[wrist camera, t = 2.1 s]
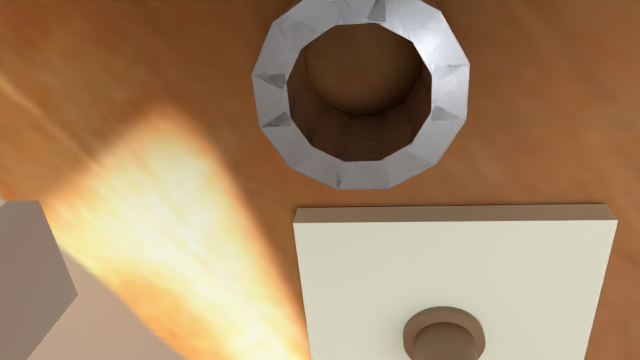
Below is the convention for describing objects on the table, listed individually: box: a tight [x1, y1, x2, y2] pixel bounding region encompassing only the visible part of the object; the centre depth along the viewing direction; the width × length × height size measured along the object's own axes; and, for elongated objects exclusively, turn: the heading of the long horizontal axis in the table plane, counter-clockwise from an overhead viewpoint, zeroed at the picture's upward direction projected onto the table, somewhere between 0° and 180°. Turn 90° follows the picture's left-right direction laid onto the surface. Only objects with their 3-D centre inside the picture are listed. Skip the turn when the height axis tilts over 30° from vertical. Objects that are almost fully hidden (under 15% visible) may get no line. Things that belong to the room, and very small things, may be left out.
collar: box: [251, 0, 470, 190], centre depth 21 cm, size 8×8×5 cm
